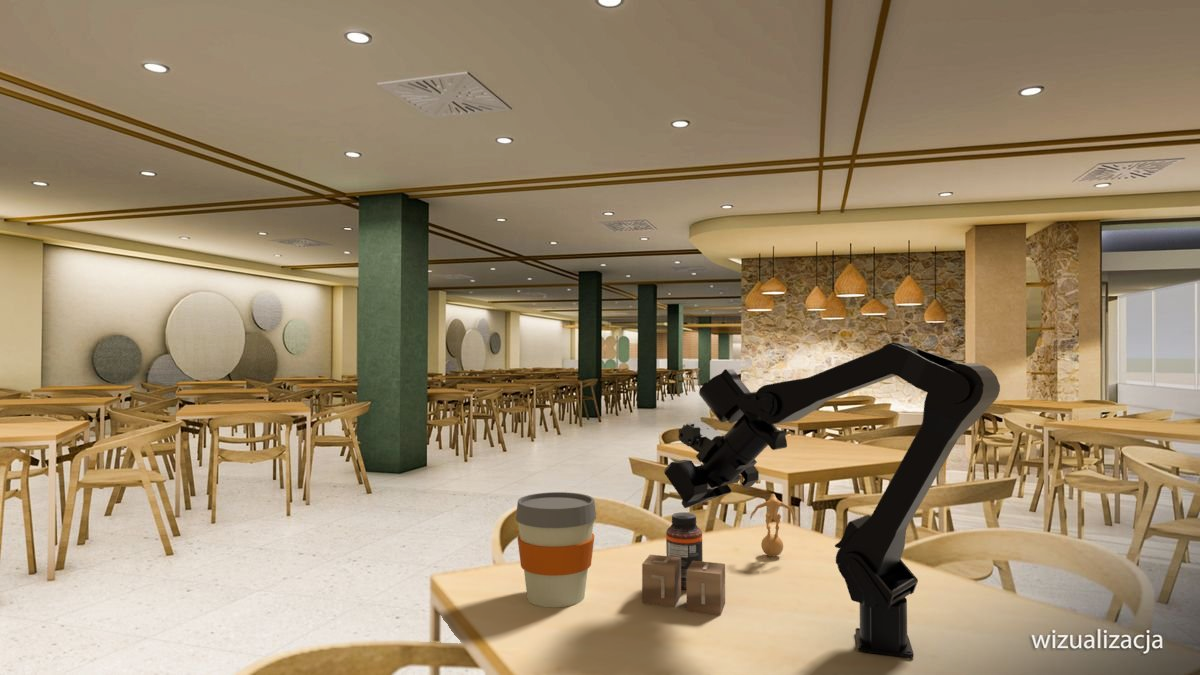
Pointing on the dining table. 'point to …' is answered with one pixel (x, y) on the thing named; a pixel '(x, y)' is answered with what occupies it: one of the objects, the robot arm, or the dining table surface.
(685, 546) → the supplement bottle
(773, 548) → the figurine
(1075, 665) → the dining table surface
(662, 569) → the block seven
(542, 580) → the reusable coffee cup
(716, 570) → the block one
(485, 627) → the dining table surface
